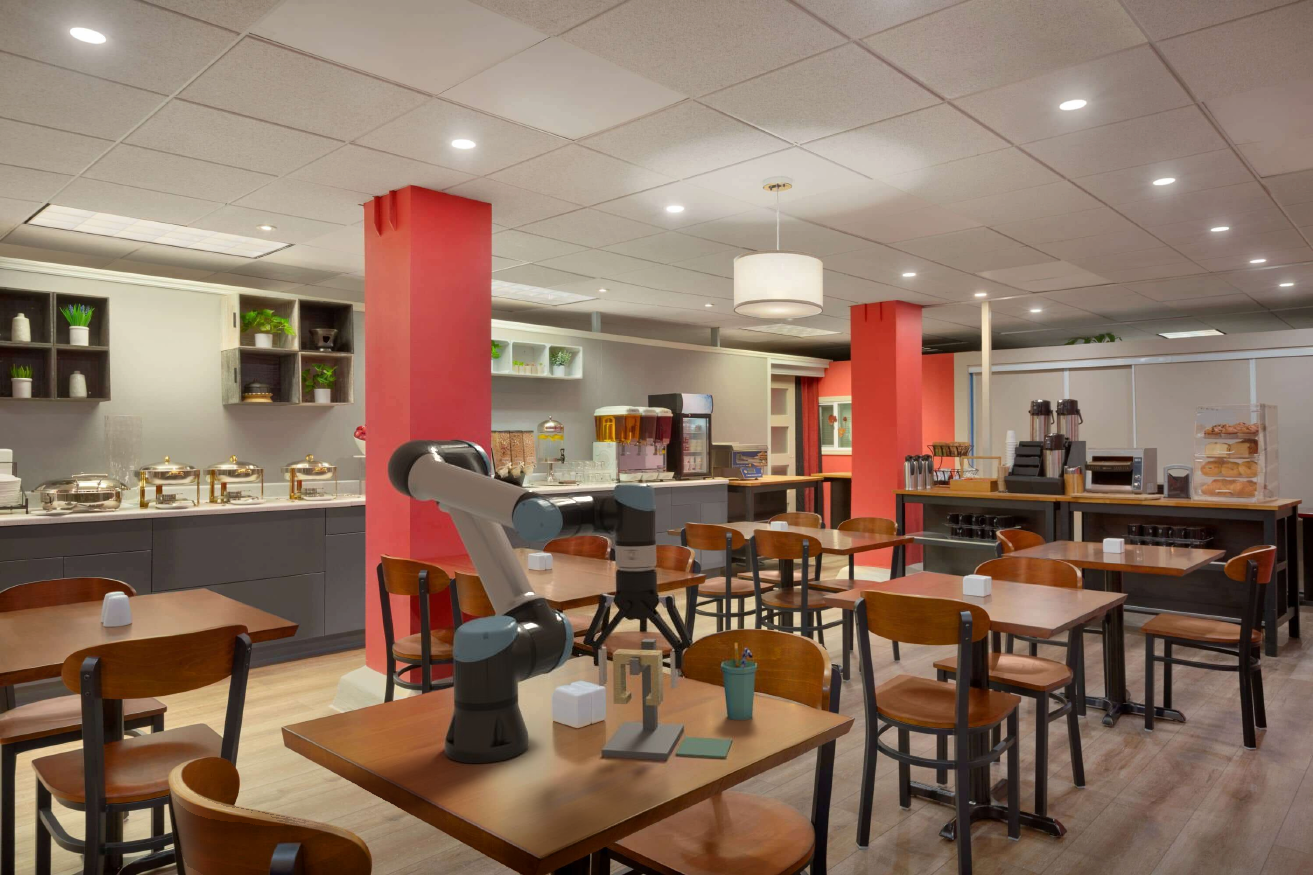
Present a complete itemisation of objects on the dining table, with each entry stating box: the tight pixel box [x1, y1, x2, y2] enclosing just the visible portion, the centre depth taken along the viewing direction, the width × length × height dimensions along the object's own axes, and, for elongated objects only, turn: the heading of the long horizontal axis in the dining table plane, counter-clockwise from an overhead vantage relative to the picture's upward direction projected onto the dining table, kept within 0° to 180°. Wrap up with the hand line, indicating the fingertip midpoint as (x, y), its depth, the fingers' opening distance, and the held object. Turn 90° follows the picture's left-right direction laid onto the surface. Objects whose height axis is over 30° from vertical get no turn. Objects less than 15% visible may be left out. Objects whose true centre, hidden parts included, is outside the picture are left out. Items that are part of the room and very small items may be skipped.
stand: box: [600, 638, 685, 761], centre depth 155 cm, size 12×16×18 cm
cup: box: [720, 642, 758, 721], centre depth 169 cm, size 14×8×15 cm, turn 12°
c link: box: [612, 648, 664, 707], centre depth 151 cm, size 8×4×9 cm, turn 77°
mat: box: [675, 736, 733, 759], centre depth 151 cm, size 9×9×1 cm
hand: (638, 685), depth 151 cm, fingers open, 13 cm apart
